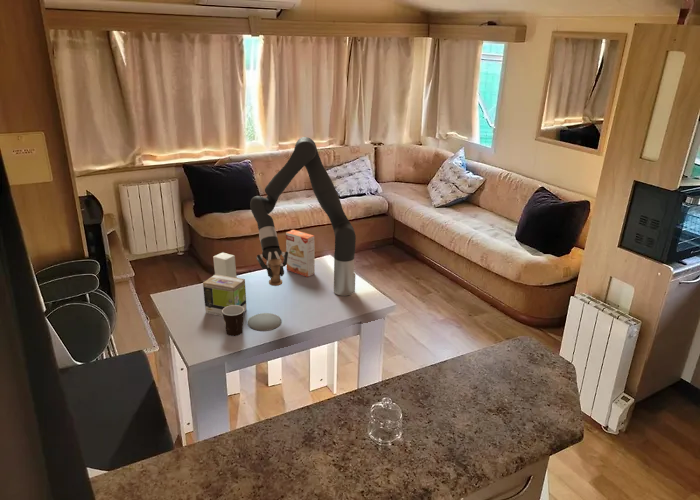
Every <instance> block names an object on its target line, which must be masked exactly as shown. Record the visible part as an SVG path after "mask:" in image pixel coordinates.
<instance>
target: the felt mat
mask: <svg viewBox="0 0 700 500" xmlns="http://www.w3.org/2000/svg"><path fill="white" fill-rule="evenodd" d="M281 324H282V318H281V317H280V316H279V315H277V314H274V313H271V312H270V313H269V312H264V313H257V314H254V315H252V316H251V317H250V318H248V320H247V325H248V327H249V328H250V329H252V330H255V331H260V332H261V331H263V332H264V331H265V332H266V331H271V330H275V329H277V328H278V327H280V326H281Z"/></svg>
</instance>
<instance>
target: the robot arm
mask: <svg viewBox="0 0 700 500" xmlns="http://www.w3.org/2000/svg"><path fill="white" fill-rule="evenodd" d="M304 167H305V168H306V172H307V175H308V178H309V182H310V184H311V188H312V191H313V194H314V197H316V200H317V203H318V204H319V206H320V208H321V209H323V211H324V213H325V214H326V215H327V216H328V219H329V220H330V224H331V226H332V229H333V234H334V252H333V253H334V254H333V257H334V258H333V261H334V265H333V293H334V294H336V295H338V296H341V297H344V296H350V295H352V294H355V293H356V273H355V255H356V254H355V253H356V241H357V240H356V236H357V235H356V232H355V229H354V226H353V225H352V224H351V222H350V220H349V218H348V217H347V215H346V213H345V212H344V208H343V205H342V203H341V199H340V196H339V194H338V191H337V190H336V187H335V185H334V182H333V181H332V179H331V177H330V175H329V173H328V171H327V170H326V168H325V167H324V164H323V162H322V160H321V157H320V154H319V151H318V149H317V144H316V142H315V141H314V140H313V139H312V138H310V137H307V136H304V137H300V138H299V139H297V141H296V143H295V144H294V149H293V152H292V153H291V155H290V158H289V159H288V160H287V162H286V163H285V164H284V165H283V167H282V168H281V169H279V171H277V173H276V174H275V175H274V176H273V177H272V179H270V181H269V182H268V184H267V185H266V186H265V188H264V192H265V194H266V197H263V196H260V195H256V196H253V197H252V198H250V204H249V206H250V207H249V209H250V210H251V213H252V215H253V218H254V220H255V221H256V224H257V229H258V236H259V241H260V247H261V251H262V253H260V254H257V256H256V261H257V262H258V264H259V265H260V268H261V269H262V270H266V271H267V272H266V273H267V276H268V277H269V278H270V279H271V278H272V271H271V265H270V264H269V260H271V259H275V258H276V259H280V260H281V261H282V259H281V256H282V258H283V261H282V263H281V264H280V277H283V276H284V274H285V270H284V267H287V258H288V252H286V251H282V249H281V247H280V243H279V238H278V233H277V230H276V227H275V223H274V218H273V216H271V215H269V214H271V213H272V212H273V211H274V209H275V207H276V205H277V202H278V200H279V199H280V198H279V197H280V196H281V195H282V194H283V192H284V191H285V190H286V189H287V187H288V186H289V185H290V184H291V182H292V181H293V179H294V178H295V176H296V175H297V174H298V173H299V172H300V171H301V170H303V168H304ZM263 258H264V259H265V260H266V264H265V262H264V260H263Z"/></svg>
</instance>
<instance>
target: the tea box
mask: <svg viewBox="0 0 700 500" xmlns="http://www.w3.org/2000/svg"><path fill="white" fill-rule="evenodd" d="M202 287H203V299H204V310H205V311H204V312H205V313H206V314H209V315H215V316H218V317H219V316H220V317H223V313H222V310H223V308H225V307H227V306H231V305H239V306H242V307H243V308H244V312H246V310H247V291H246V279H244V278H240V277H237V278H234V277H228V276H222V275H216V274H215V273H214V274H213V275H212V276H210V277H209V278H207V279H206V280H204V281H203V282H202Z"/></svg>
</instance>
